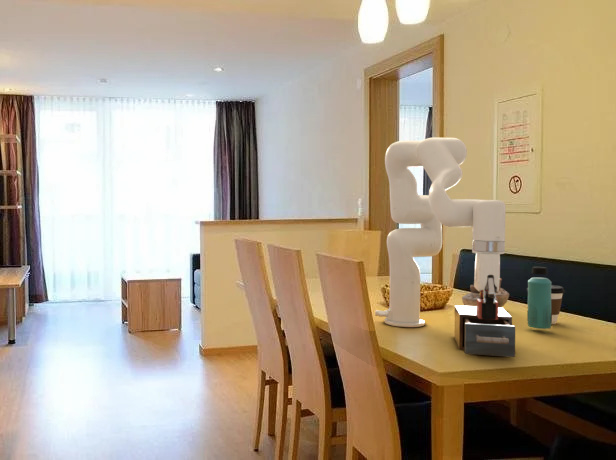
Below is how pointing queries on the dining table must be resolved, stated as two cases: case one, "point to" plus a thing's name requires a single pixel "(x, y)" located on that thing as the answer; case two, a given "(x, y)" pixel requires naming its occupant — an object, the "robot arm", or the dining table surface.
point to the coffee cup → (556, 301)
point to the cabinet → (471, 313)
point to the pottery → (472, 297)
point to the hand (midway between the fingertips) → (487, 316)
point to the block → (479, 309)
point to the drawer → (488, 337)
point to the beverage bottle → (539, 300)
